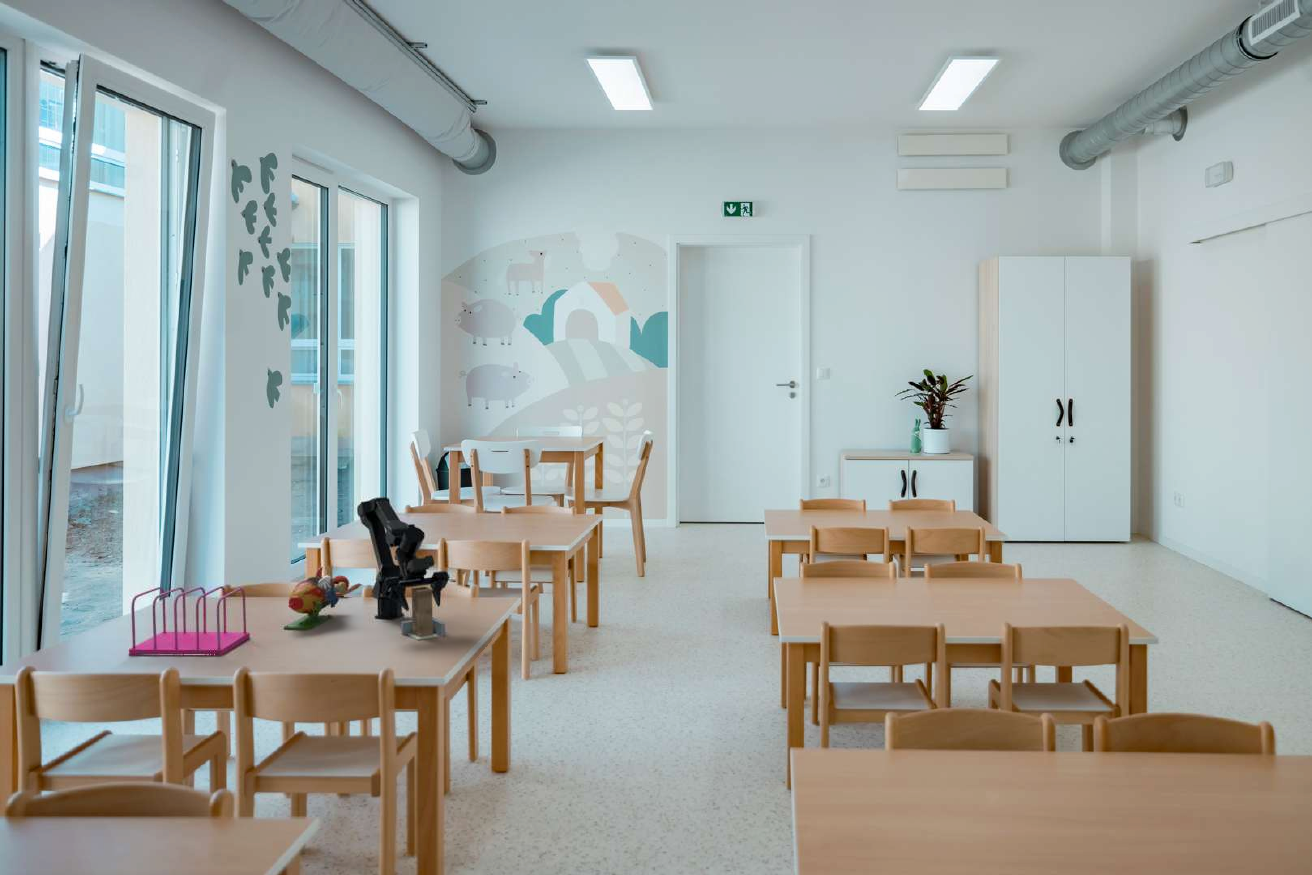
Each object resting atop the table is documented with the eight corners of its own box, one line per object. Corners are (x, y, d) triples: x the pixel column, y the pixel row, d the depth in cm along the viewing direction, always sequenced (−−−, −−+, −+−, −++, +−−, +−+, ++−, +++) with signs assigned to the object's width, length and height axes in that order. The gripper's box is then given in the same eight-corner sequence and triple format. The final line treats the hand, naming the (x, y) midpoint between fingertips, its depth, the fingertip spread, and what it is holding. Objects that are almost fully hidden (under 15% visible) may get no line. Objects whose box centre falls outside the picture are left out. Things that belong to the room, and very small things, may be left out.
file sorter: (163, 637, 274) (161, 583, 273) (250, 638, 274) (248, 583, 273) (128, 655, 257) (126, 597, 256) (221, 656, 256) (219, 597, 255)
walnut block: (412, 633, 276) (411, 588, 275) (426, 631, 278) (424, 586, 278) (419, 637, 272) (418, 591, 271) (432, 634, 274) (431, 589, 274)
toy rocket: (269, 632, 279) (268, 580, 278) (310, 611, 304) (309, 563, 303) (316, 634, 277) (315, 581, 276) (353, 612, 302) (352, 564, 301)
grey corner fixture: (401, 633, 277) (401, 621, 277) (433, 628, 283) (433, 616, 282) (413, 640, 270) (412, 628, 270) (445, 635, 275) (445, 623, 275)
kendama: (330, 607, 315) (357, 588, 332) (324, 589, 314) (352, 570, 331) (308, 610, 317) (336, 590, 334) (303, 592, 316) (332, 573, 333)
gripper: (383, 550, 271) (398, 596, 263) (446, 543, 282) (462, 587, 274) (374, 573, 278) (389, 618, 270) (436, 565, 289) (451, 609, 281)
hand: (423, 607), depth 274 cm, fingers open, 9 cm apart
